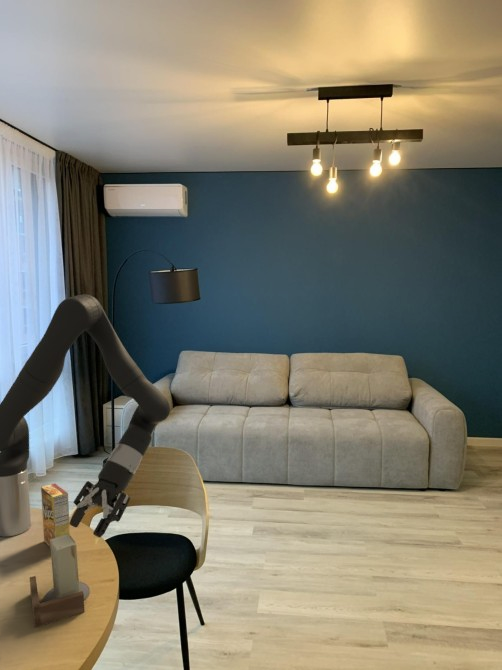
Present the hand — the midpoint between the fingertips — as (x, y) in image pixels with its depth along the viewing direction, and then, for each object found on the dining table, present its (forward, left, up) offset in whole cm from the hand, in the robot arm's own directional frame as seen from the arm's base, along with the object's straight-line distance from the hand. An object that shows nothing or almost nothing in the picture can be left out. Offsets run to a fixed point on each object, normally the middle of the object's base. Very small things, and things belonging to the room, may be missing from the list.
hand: (84, 530), depth 112 cm
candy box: (-20, -10, -13) cm, 25 cm away
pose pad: (+4, -4, -13) cm, 14 cm away
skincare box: (+4, -4, -13) cm, 14 cm away
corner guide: (+6, -6, -13) cm, 15 cm away
